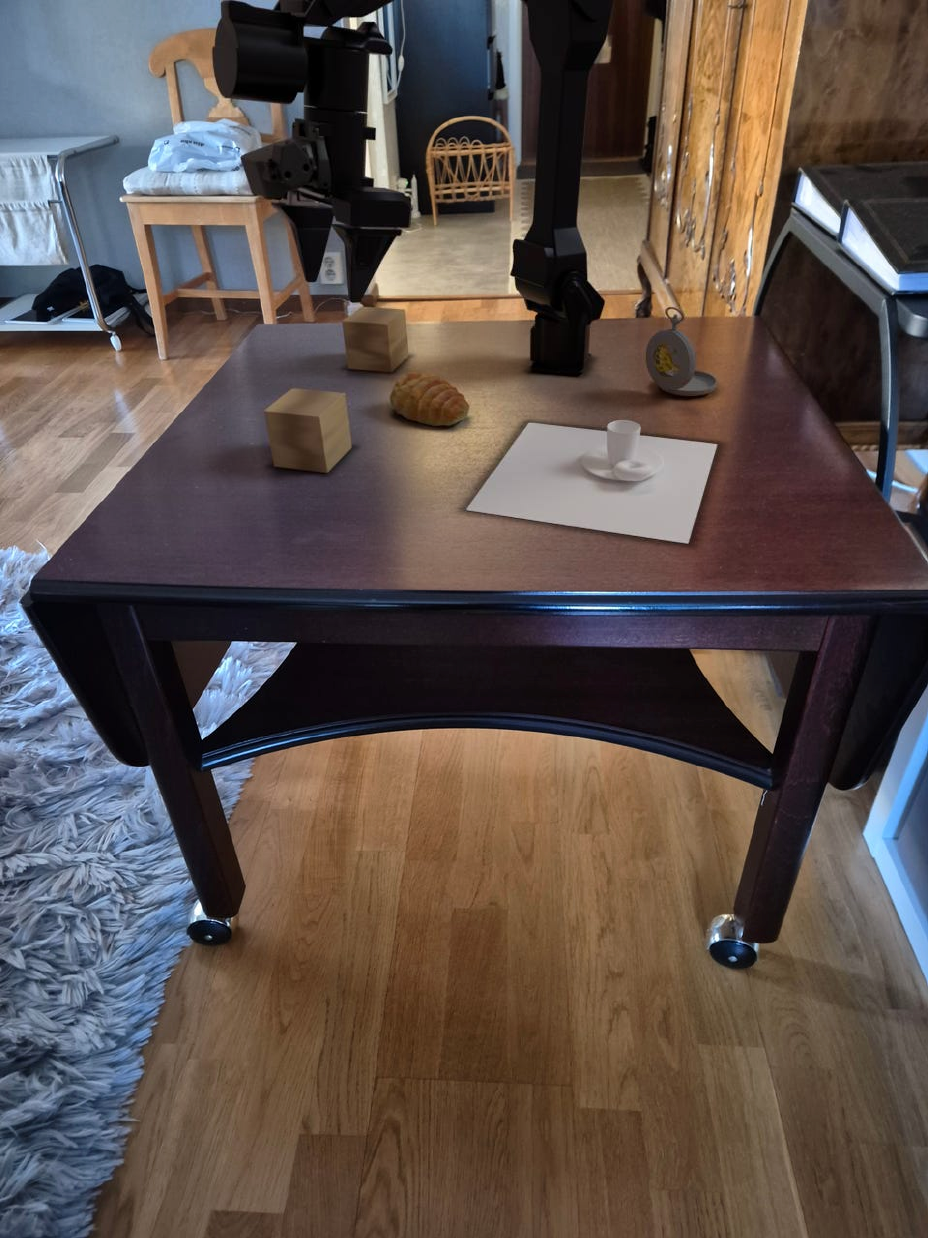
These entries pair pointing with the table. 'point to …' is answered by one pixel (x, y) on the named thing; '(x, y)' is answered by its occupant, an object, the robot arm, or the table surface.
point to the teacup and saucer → (601, 480)
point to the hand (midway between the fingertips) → (332, 291)
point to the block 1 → (308, 429)
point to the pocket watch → (676, 362)
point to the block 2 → (375, 339)
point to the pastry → (428, 400)
